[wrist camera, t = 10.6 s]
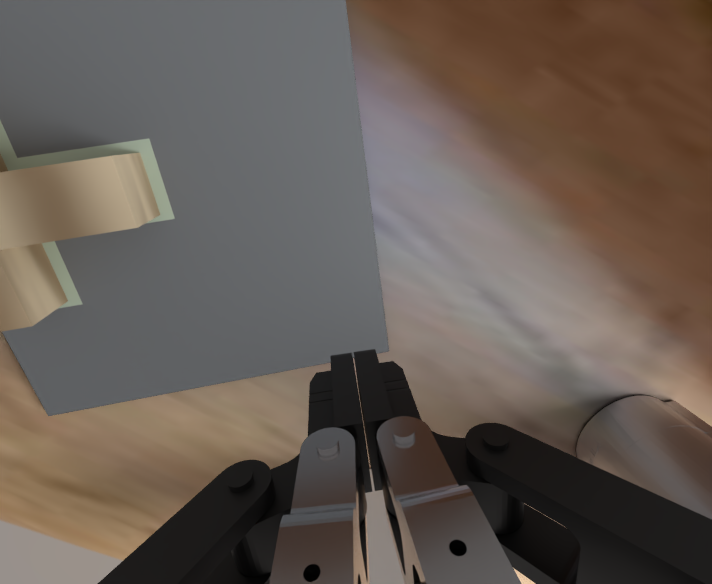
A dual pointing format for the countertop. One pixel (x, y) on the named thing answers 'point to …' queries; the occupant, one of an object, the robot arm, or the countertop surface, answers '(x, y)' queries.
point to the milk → (380, 542)
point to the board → (196, 191)
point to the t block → (61, 224)
